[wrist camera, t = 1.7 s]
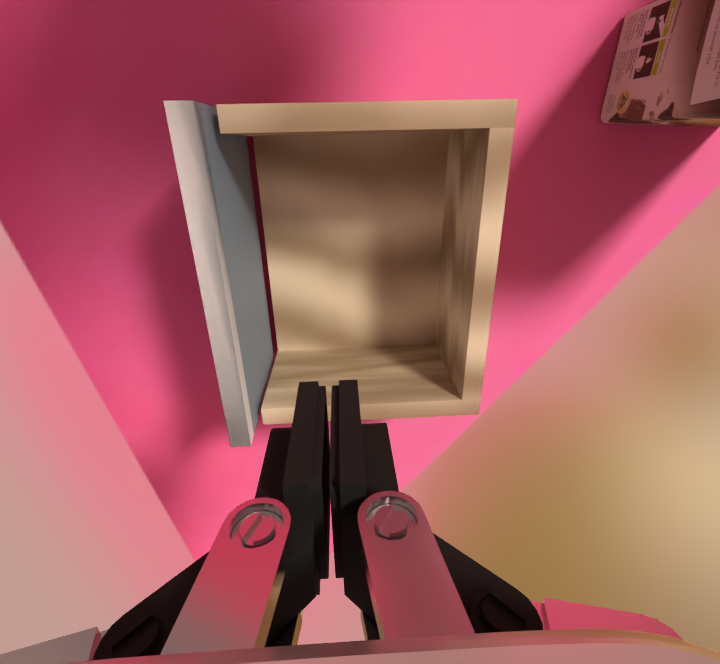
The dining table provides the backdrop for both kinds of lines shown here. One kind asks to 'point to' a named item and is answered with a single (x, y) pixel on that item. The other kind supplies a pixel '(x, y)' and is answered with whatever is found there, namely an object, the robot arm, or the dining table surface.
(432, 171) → the crate
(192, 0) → the dining table surface
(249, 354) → the panel
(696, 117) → the coffee box
